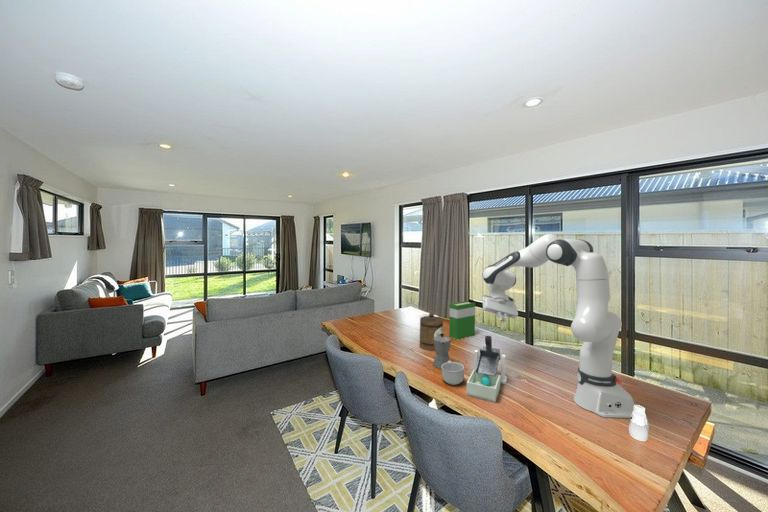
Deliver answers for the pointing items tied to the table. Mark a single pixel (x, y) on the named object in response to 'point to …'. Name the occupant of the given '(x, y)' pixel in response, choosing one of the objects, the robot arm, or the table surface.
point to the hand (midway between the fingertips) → (502, 321)
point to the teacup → (452, 372)
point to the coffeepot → (441, 350)
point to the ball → (485, 380)
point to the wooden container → (430, 331)
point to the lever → (488, 359)
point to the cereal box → (462, 319)
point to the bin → (483, 387)
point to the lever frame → (503, 363)
